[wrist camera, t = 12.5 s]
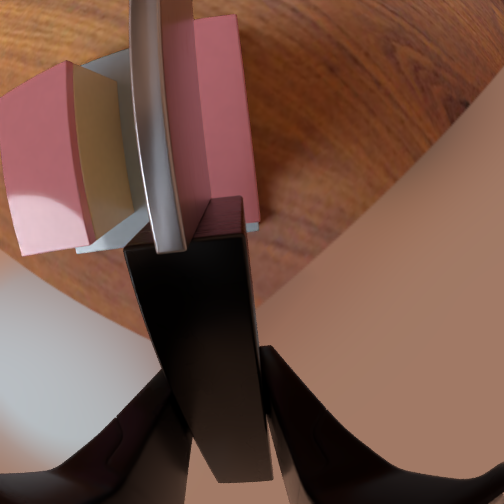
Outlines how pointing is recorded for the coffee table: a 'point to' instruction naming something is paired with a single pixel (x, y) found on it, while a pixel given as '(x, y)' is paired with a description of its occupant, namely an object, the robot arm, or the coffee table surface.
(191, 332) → the knife
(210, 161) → the cake slice
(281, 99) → the coffee table surface
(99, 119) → the cake plate
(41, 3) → the coffee table surface
